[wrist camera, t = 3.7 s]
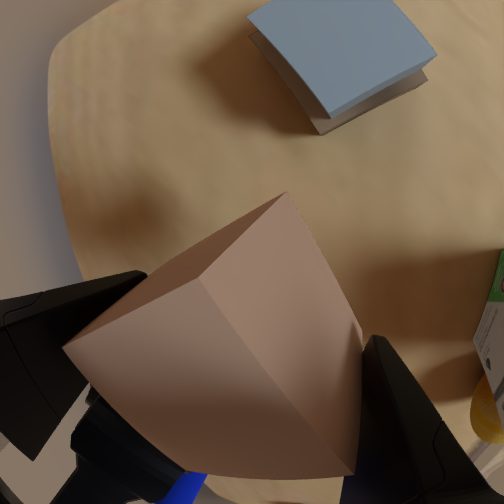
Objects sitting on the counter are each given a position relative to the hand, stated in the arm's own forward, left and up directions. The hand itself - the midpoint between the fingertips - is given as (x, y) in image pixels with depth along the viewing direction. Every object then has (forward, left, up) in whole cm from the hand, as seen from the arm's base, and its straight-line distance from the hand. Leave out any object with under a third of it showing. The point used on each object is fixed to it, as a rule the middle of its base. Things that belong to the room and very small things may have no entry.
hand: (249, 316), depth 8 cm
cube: (0, 0, -1) cm, 1 cm away
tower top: (+8, +7, -8) cm, 14 cm away
